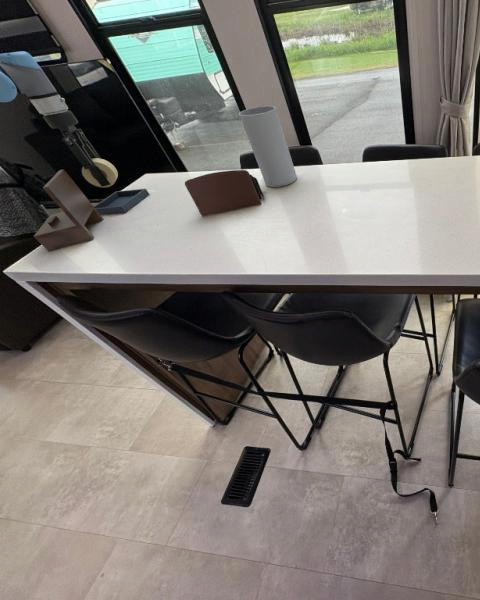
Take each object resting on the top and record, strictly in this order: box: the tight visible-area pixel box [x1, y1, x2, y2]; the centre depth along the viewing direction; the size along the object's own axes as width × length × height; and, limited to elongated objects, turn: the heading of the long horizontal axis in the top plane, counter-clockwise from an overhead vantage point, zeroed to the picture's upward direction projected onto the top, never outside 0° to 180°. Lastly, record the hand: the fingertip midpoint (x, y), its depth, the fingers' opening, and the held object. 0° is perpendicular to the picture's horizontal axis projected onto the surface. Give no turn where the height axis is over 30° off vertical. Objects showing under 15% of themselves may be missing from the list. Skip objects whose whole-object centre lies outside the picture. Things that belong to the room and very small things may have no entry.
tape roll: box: [81, 157, 119, 188], centre depth 116 cm, size 9×5×9 cm, turn 116°
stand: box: [33, 169, 105, 252], centre depth 100 cm, size 12×16×19 cm
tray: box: [93, 188, 150, 216], centre depth 124 cm, size 16×13×2 cm
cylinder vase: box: [238, 105, 298, 188], centre depth 119 cm, size 12×12×25 cm
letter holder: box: [184, 169, 265, 217], centre depth 108 cm, size 10×20×14 cm, turn 106°
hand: (107, 182), depth 119 cm, fingers closed on tape roll, 5 cm apart
